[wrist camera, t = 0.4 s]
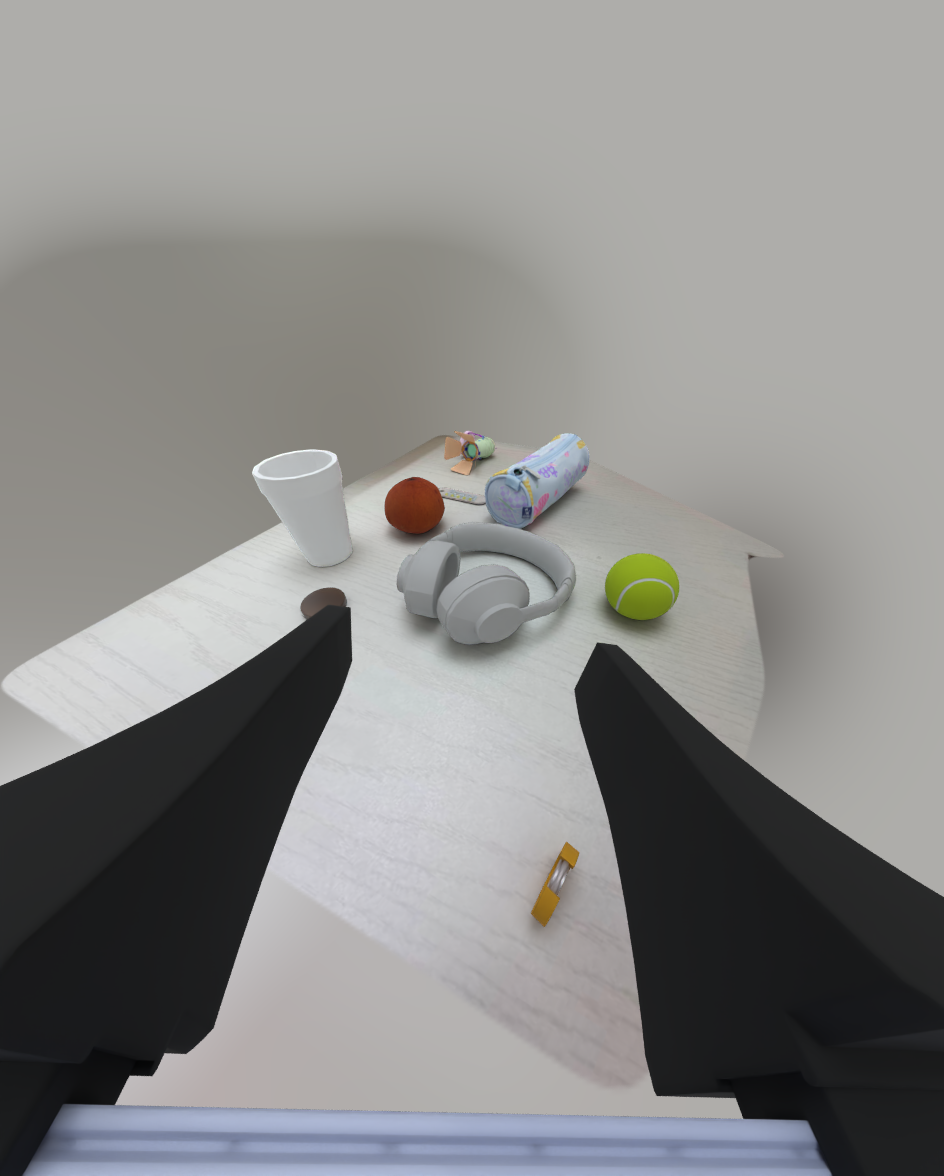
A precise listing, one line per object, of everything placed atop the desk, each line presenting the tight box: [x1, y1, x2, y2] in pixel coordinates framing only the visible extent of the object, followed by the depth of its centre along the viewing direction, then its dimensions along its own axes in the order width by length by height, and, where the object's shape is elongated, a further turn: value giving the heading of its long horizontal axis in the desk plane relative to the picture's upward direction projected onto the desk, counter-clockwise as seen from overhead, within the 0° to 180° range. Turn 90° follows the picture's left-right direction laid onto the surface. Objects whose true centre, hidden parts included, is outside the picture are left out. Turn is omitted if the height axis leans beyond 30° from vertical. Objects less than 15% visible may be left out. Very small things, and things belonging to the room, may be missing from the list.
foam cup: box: [252, 450, 353, 567], centre depth 44 cm, size 10×9×13 cm
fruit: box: [385, 477, 445, 534], centre depth 50 cm, size 9×9×8 cm
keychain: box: [438, 488, 486, 504], centre depth 60 cm, size 10×1×3 cm
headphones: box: [397, 522, 576, 644], centre depth 39 cm, size 18×8×20 cm
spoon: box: [301, 588, 347, 619], centre depth 34 cm, size 20×5×1 cm, turn 2°
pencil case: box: [485, 434, 589, 529], centre depth 54 cm, size 21×9×10 cm, turn 141°
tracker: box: [531, 842, 579, 927], centre depth 19 cm, size 4×1×4 cm, turn 141°
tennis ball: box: [605, 554, 679, 620], centre depth 35 cm, size 7×7×7 cm
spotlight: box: [444, 431, 497, 475], centre depth 70 cm, size 12×8×8 cm
